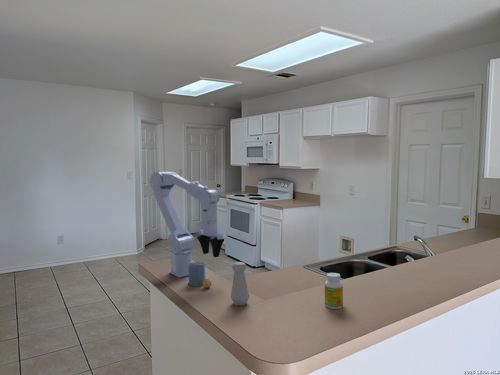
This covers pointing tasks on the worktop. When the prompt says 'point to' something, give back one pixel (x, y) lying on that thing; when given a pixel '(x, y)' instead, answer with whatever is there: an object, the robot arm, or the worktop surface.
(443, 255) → the worktop surface
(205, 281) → the ball
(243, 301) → the salt shaker
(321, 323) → the worktop surface
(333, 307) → the supplement bottle
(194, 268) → the cup
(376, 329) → the worktop surface
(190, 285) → the disc
